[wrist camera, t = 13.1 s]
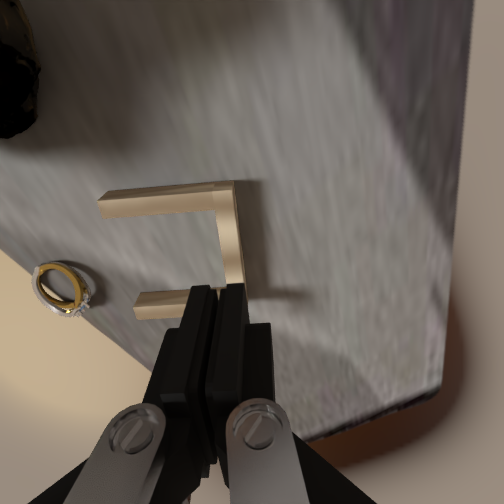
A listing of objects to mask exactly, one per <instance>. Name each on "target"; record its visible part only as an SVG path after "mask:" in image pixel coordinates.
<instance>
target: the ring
mask: <svg viewBox="0 0 504 504" xmlns="http://www.w3.org/2000/svg"><path fill="white" fill-rule="evenodd" d="M48 269H57V270H59V271H61V272H63V273H64V274H66V275H67V276H68V277H69V278H70V280H71V281H72V283H73V285H74V288H75V302H64V301H60V300H57V299H55V298H52V297H51V296H50V295H49V294H47V293H46V292H45V290H44V289H43V287H42V285H41V281H40V278H41V274H43V273H44V272H46V271H47V270H48ZM32 287H33V290H34V292H35V294H36V296H37V298H38V299H39V300H40V301H41V302H42V303H43V304H44V305H45V306H46V307H47V308H49V309H50V310H52V311H53V312H55V313H57V314H59V315H61V316H65V317H71V316H73V317H74V316H77V317H79V316H80V315H82V314H83V313H82V312H81V310H83V312H84V311H85V309H84V307H87V308H90V306H89V305H88V304H87V303H88V302H89V301H90V299H91V291H90V288H89V286H88V284H87V283H86V281H85V279H84V278H83V277H82V276H81V274H80V273H79V272H78V271H76V270H75V269H74V268H72V267H70V266H69V265H66V264H64V263H60V262H49V263H46V264H41V265H39V266H37V267H36V268H35V272H34V273H33V276H32ZM83 292H84V296H85V300H84V301H83V302H82V300H83ZM62 308H73V309H70V310H69V311H67V310H64V309H62Z"/></svg>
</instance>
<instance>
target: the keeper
mask: <svg viewBox="0 0 504 504" xmlns="http://www.w3.org/2000/svg"><path fill="white" fill-rule="evenodd" d="M97 203H98V206H99V209H100V212H101V215H102V218H103V219H107V218H119V217H132V216H144V215H157V214H169V213H182V212H194V211H207V210H215V213H216V220H217V226H218V232H219V239H220V245H221V251H222V258H223V264H224V270H225V276H226V283H227V284H230V283H245V289H246V297H247V305H248V293H247V285H246V277H245V269H244V261H243V252H242V244H241V236H240V228H239V220H238V212H237V204H236V196H235V188H234V180H233V181H221V182H209V183H197V184H185V185H174V186H162V187H150V188H138V189H127V190H115V191H108V192H106V193H105V194H104V195H103V196H102V197H101V198H100V199H99V200H97ZM222 288H226V287H220V288H211V289H216V290H217V294H218V300H219V295H220V290H221V289H222ZM189 293H190V290H174V291H159V292H144V293H140V295H139V297H138V299H137V301H136V303H135V305H134V307H133V309H134V311H135V314H136V317H137V320H142V319H158V318H175V317H183V313H184V310H185V306H186V303H187V300H188V296H189Z"/></svg>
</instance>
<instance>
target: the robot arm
mask: <svg viewBox="0 0 504 504" xmlns="http://www.w3.org/2000/svg"><path fill="white" fill-rule="evenodd" d="M218 458H219V462H220V466H221V470H222V474H223V478H224V482H225V485H226V486H227V487H228V488H229V490H230V504H377V503H375V502H374V501H373V500H372V499H371V498H370V497H368V496H367V495H366V494H365V493H364V492H363V491H361V490H360V489H359V488H358V487H357V486H355V485H354V484H353V483H352V482H351V481H350V480H348V479H347V478H346V477H345V476H344V475H342V474H341V473H340V472H339V471H338V470H337V469H335V468H334V467H333V466H332V465H331V464H329V463H328V462H327V461H326V460H325V459H324V458H322V457H321V456H320V455H319V454H318V453H316V452H315V451H314V450H313V449H312V448H310V447H309V446H308V445H307V444H306V443H305V442H304V441H302V440H301V439H300V438H299V437H298V436H296V435H295V434H294V433H293V432H292V430H291V426H290V422H289V419H288V417H287V414H286V412H285V411H284V410H283V409H282V407H281V406H280V405H279V404H277V403H275V383H274V363H273V347H272V335H271V324H270V323H255V324H250V321H249V313H248V305H247V297H246V289H245V283H230V284H227V287H226V288H222V289H221V290H220V295H219V300H218V294H217V290H216V289H211V287H210V285H199V286H192V287H191V289H190V293H189V296H188V300H187V303H186V306H185V310H184V313H183V317H182V320H181V323H180V327H179V328H169V329H168V330H167V331H166V334H165V336H164V339H163V342H162V345H161V348H160V351H159V354H158V357H157V360H156V363H155V366H154V369H153V372H152V375H151V378H150V381H149V384H148V387H147V390H146V393H145V395H144V398H143V402H142V403H139V404H136V405H132V406H129V407H128V408H126V409H125V410H122V411H121V412H119V413H118V414H117V415H116V416H115V417H114V418H113V419H112V420H111V421H110V423H109V424H108V425H107V427H106V428H105V430H104V432H103V434H102V435H101V437H100V439H99V441H98V443H97V444H96V446H95V448H94V450H93V451H92V453H91V455H90V457H89V458H88V459H86V460H85V461H84V462H82V463H81V464H80V465H79V466H77V467H76V468H74V469H73V470H72V471H70V472H69V473H68V474H66V475H65V476H64V477H63V478H61V479H60V480H58V481H57V482H56V483H55V484H53V485H52V486H51V487H49V488H48V489H46V490H45V491H44V492H42V493H41V494H40V495H39V496H37V497H36V498H35V499H33V500H32V501H31V502H29V503H28V504H190V500H191V493H192V492H193V491H195V490H196V489H197V488H198V487H199V486H200V481H201V478H208V477H209V470H210V464H216V463H217V459H218Z"/></svg>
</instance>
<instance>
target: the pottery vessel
mask: <svg viewBox="0 0 504 504" xmlns="http://www.w3.org/2000/svg"><path fill="white" fill-rule="evenodd" d="M36 53H37V52H36V49H35V44H34V40H33V34H32V29H31V26H30V23H29V21H28V19H27V16H26V14H25V12H24V10H23V8H22V6H21V3H20V1H19V0H0V138H4V139H7V138H8V139H9V138H11V137H13V136H15V135H16V134H19V133H22V132H23V131H25V130H27V129H28V128H29V127H30V126H31V125H32V124H33V123H34V122H35V121H36V119H37V116H38V115H37V103H36V99H37V92H38V87H39V78H38V74H39V72H40V70H41V65H40V63H39V61H38V58H37V55H36Z"/></svg>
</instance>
